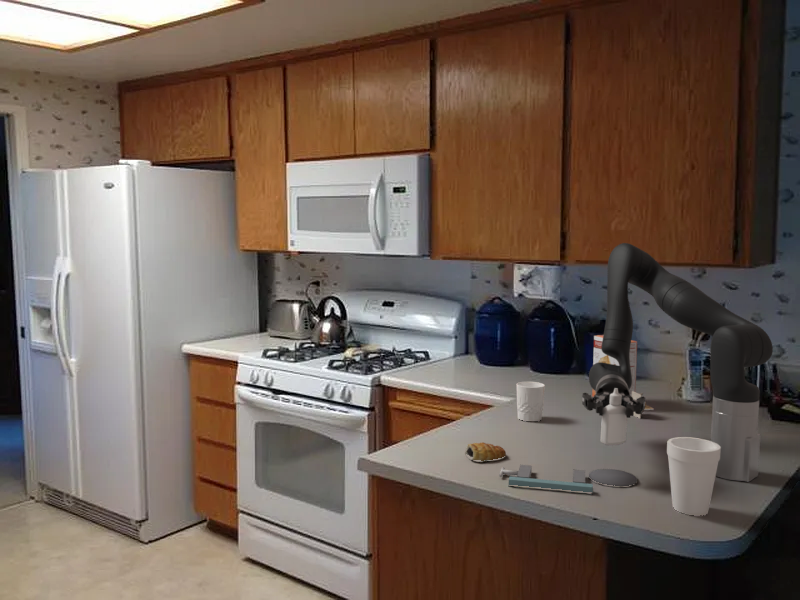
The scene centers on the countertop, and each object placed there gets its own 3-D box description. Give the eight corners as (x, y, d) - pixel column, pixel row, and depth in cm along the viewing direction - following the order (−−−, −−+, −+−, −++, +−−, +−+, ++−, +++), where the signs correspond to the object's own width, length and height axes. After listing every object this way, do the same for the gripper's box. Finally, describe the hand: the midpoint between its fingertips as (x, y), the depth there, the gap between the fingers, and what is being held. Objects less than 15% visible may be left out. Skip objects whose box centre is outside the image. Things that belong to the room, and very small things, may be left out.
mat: (645, 479, 157) (645, 476, 157) (623, 491, 150) (623, 488, 150) (603, 468, 164) (603, 465, 164) (579, 479, 157) (580, 476, 157)
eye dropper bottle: (628, 446, 154) (631, 391, 153) (601, 445, 155) (604, 390, 153) (624, 440, 159) (627, 386, 157) (598, 439, 159) (600, 385, 158)
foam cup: (715, 504, 143) (718, 440, 142) (719, 522, 134) (723, 453, 133) (663, 498, 146) (666, 435, 145) (664, 515, 137) (667, 448, 136)
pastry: (498, 452, 176) (498, 437, 175) (511, 461, 169) (511, 445, 169) (462, 456, 173) (462, 440, 172) (474, 465, 166) (474, 449, 166)
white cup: (511, 420, 205) (512, 385, 204) (520, 414, 211) (521, 380, 210) (539, 424, 201) (540, 388, 200) (547, 417, 208) (548, 383, 207)
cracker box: (590, 400, 229) (593, 334, 227) (606, 399, 231) (609, 334, 229) (619, 411, 216) (621, 341, 214) (635, 409, 218) (638, 340, 216)
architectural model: (641, 415, 214) (642, 390, 213) (653, 421, 207) (654, 395, 206) (630, 415, 213) (631, 390, 213) (641, 421, 206) (642, 395, 206)
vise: (592, 477, 158) (592, 470, 158) (592, 494, 148) (592, 487, 148) (502, 469, 163) (502, 462, 163) (496, 485, 153) (496, 478, 152)
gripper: (581, 375, 171) (580, 392, 154) (645, 379, 167) (651, 397, 151) (580, 406, 172) (579, 426, 155) (643, 411, 168) (649, 432, 152)
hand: (615, 412), depth 153 cm, fingers closed on eye dropper bottle, 5 cm apart
